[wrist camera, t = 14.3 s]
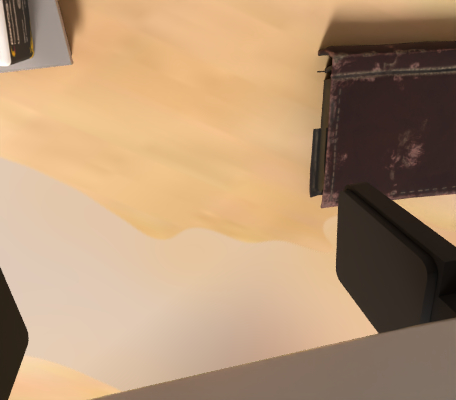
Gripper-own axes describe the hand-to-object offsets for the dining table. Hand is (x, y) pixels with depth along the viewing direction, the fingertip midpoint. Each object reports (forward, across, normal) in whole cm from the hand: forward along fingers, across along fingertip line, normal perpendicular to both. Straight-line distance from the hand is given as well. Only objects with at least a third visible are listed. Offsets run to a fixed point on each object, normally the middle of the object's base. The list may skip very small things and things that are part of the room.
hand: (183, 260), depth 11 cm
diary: (+34, -30, +8) cm, 46 cm away
